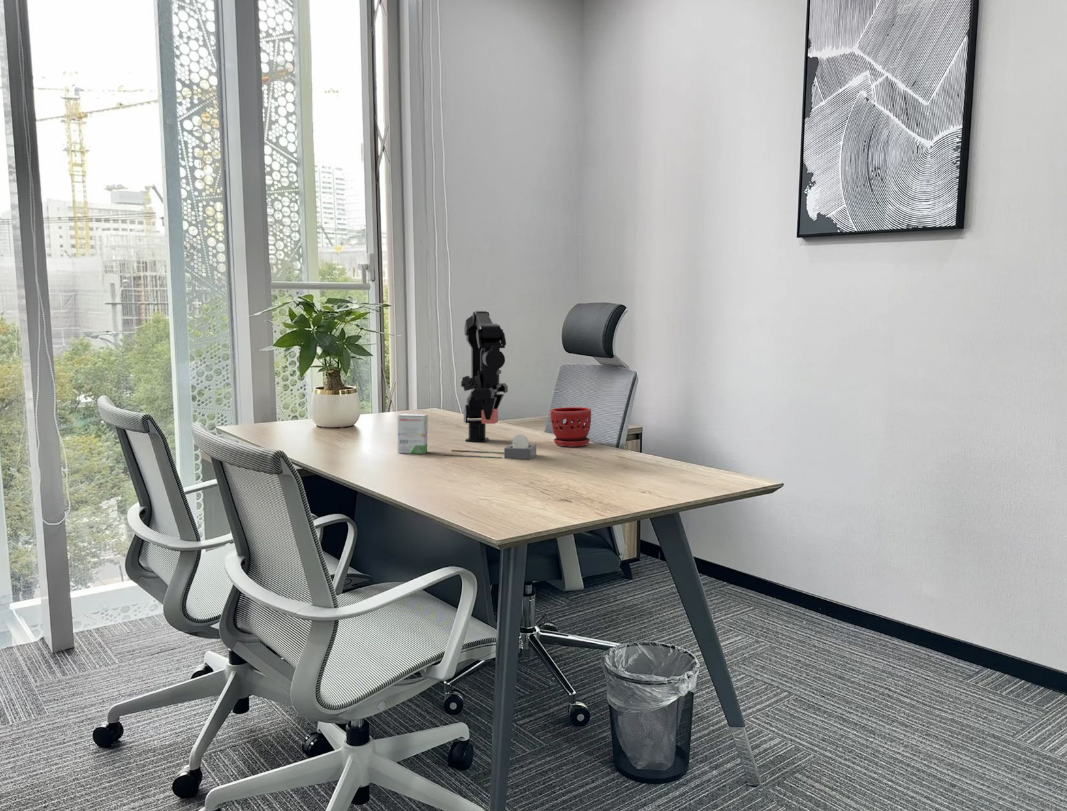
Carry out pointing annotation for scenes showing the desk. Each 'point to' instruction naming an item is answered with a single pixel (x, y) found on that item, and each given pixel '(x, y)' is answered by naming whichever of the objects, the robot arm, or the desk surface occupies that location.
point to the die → (492, 419)
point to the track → (472, 455)
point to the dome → (520, 441)
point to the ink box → (412, 433)
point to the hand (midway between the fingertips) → (490, 418)
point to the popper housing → (519, 452)
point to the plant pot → (571, 426)
